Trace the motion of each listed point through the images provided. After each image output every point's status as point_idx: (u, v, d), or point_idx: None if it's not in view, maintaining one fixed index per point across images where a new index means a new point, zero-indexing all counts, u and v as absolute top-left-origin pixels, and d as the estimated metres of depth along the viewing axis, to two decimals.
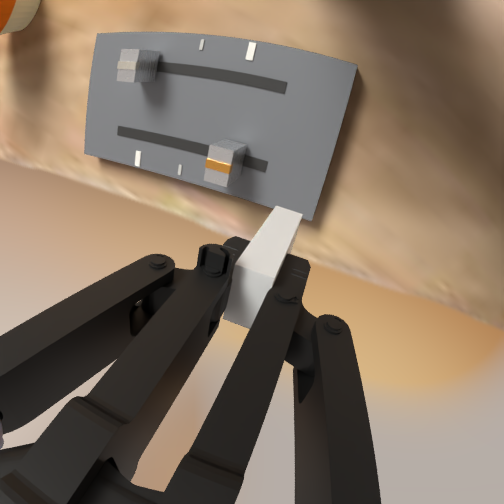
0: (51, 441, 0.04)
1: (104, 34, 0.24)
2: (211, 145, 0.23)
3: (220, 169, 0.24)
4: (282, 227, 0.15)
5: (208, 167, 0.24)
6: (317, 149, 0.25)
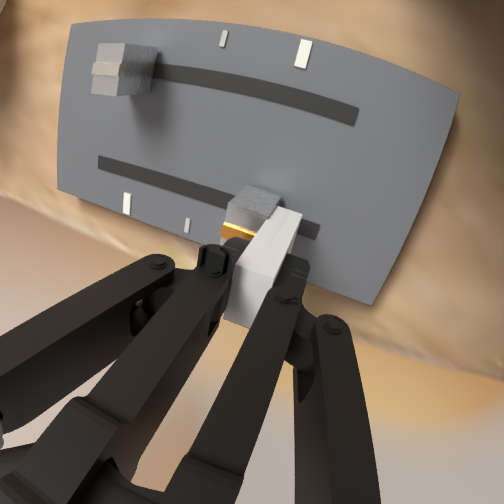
0: (51, 441, 0.04)
1: (80, 24, 0.16)
2: (231, 203, 0.15)
3: None
4: (282, 227, 0.15)
5: (225, 236, 0.16)
6: (394, 213, 0.16)
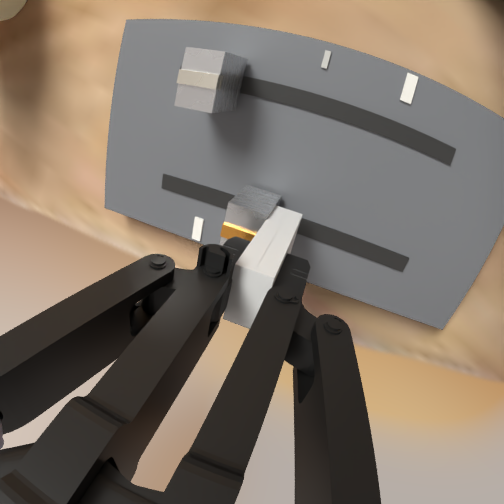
0: (51, 441, 0.04)
1: (139, 21, 0.15)
2: (231, 203, 0.15)
3: None
4: (282, 227, 0.15)
5: (225, 236, 0.16)
6: (474, 247, 0.16)
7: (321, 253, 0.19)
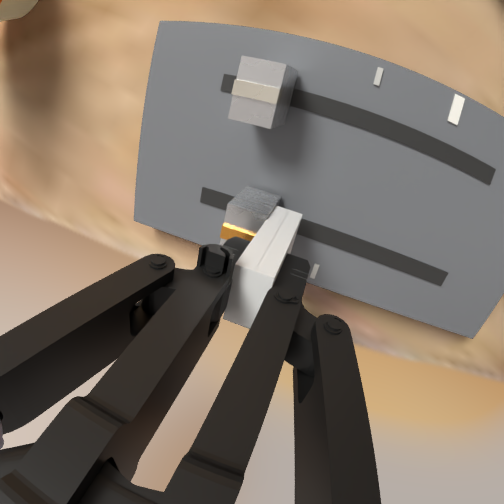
0: (51, 441, 0.04)
1: (175, 23, 0.15)
2: (230, 204, 0.15)
3: None
4: (282, 227, 0.15)
5: (225, 237, 0.16)
6: None
7: (366, 269, 0.18)
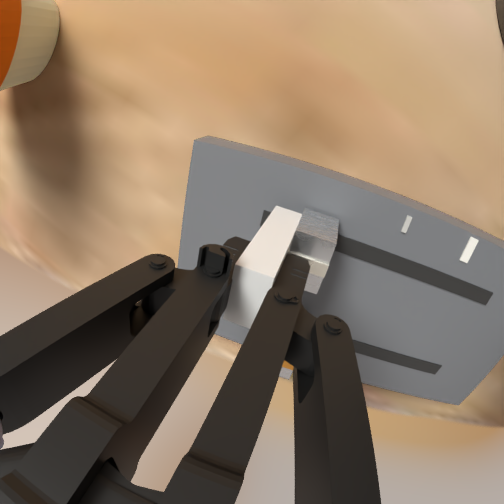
0: (51, 441, 0.04)
1: (211, 146, 0.18)
2: None
3: (283, 365, 0.19)
4: (282, 227, 0.15)
5: None
6: (491, 354, 0.18)
7: (375, 365, 0.21)
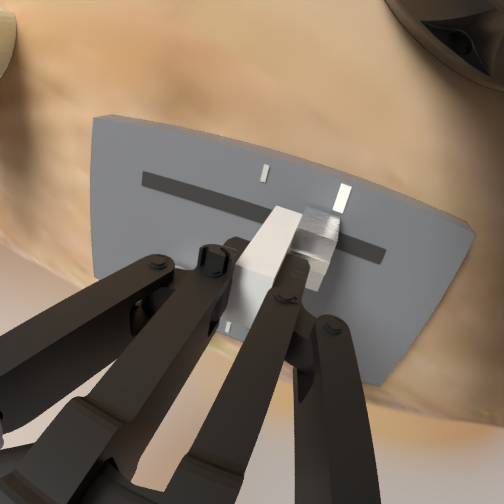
0: (51, 441, 0.04)
1: (104, 121, 0.19)
2: None
3: None
4: (282, 227, 0.15)
5: None
6: (404, 327, 0.19)
7: None
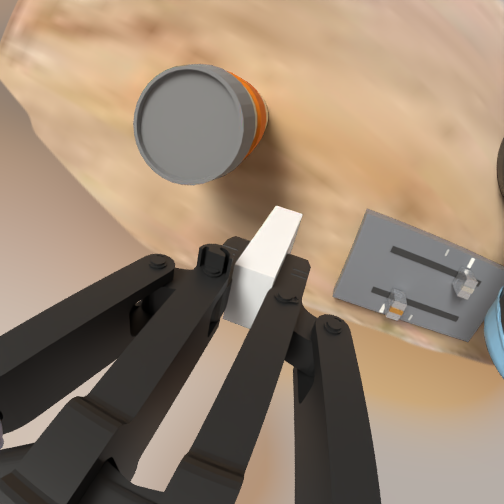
0: (51, 441, 0.04)
1: (375, 217, 0.40)
2: (395, 301, 0.40)
3: (397, 313, 0.41)
4: (282, 227, 0.15)
5: (390, 311, 0.41)
6: (482, 312, 0.40)
7: (429, 316, 0.43)
